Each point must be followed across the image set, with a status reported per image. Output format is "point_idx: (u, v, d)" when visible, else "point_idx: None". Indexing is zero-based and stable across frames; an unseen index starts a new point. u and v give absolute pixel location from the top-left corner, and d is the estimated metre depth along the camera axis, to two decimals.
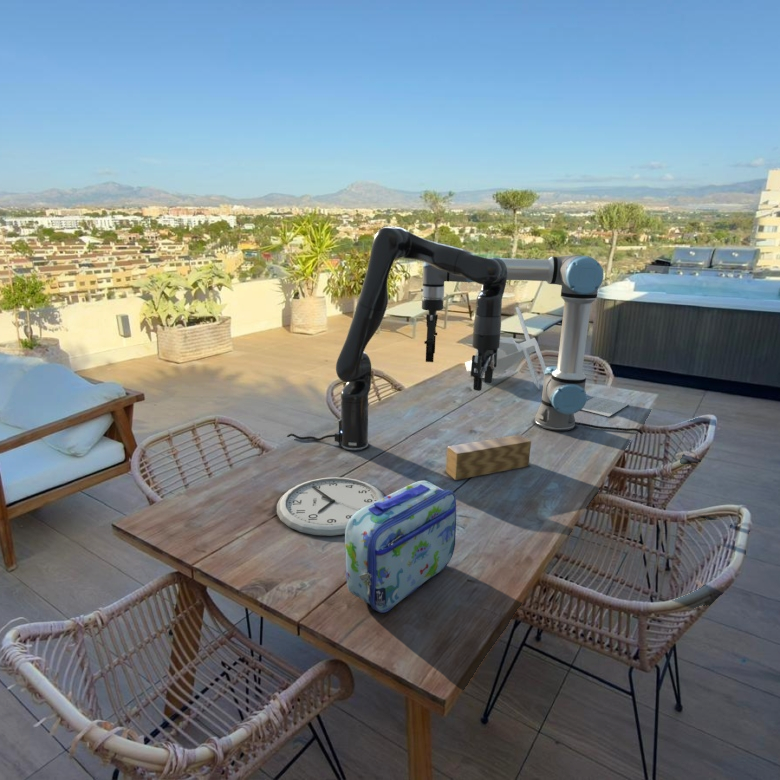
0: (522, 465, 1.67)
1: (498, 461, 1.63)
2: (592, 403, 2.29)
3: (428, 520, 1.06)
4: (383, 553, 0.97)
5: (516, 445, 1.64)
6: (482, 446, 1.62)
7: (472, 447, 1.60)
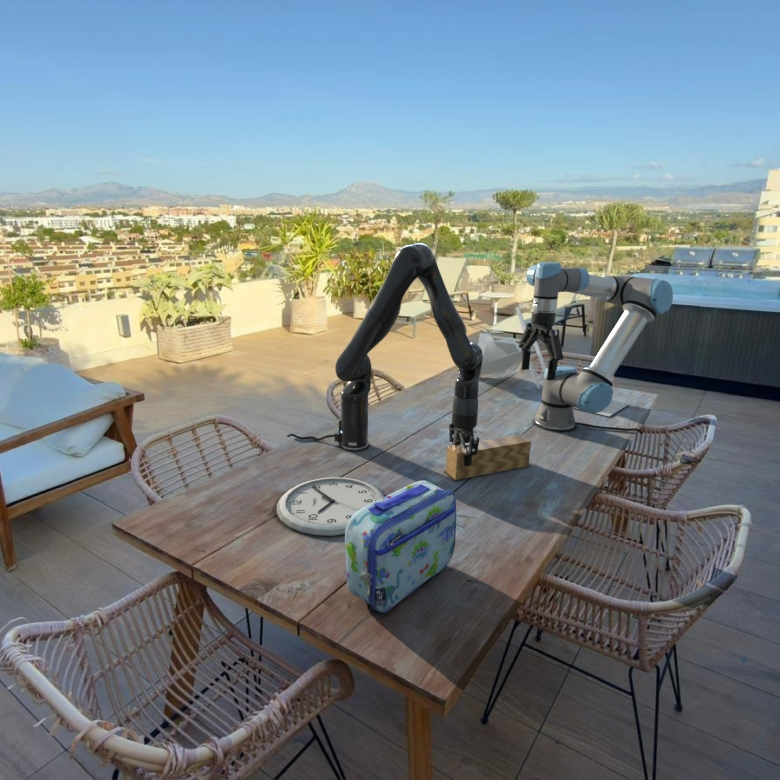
0: (522, 465, 1.67)
1: (498, 461, 1.63)
2: None
3: (428, 520, 1.06)
4: (383, 553, 0.97)
5: (516, 445, 1.64)
6: (482, 445, 1.62)
7: None
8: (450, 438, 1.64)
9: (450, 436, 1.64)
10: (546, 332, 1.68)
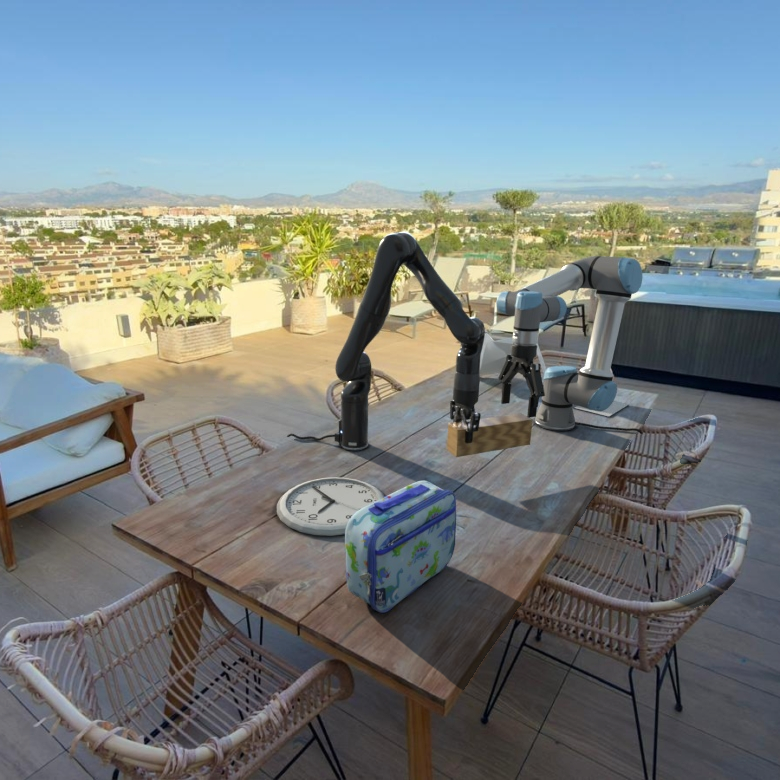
0: (523, 443, 1.65)
1: (500, 439, 1.61)
2: None
3: (428, 520, 1.06)
4: (383, 553, 0.97)
5: (517, 423, 1.62)
6: (484, 423, 1.59)
7: None
8: (451, 415, 1.62)
9: (451, 413, 1.61)
10: (527, 366, 1.56)
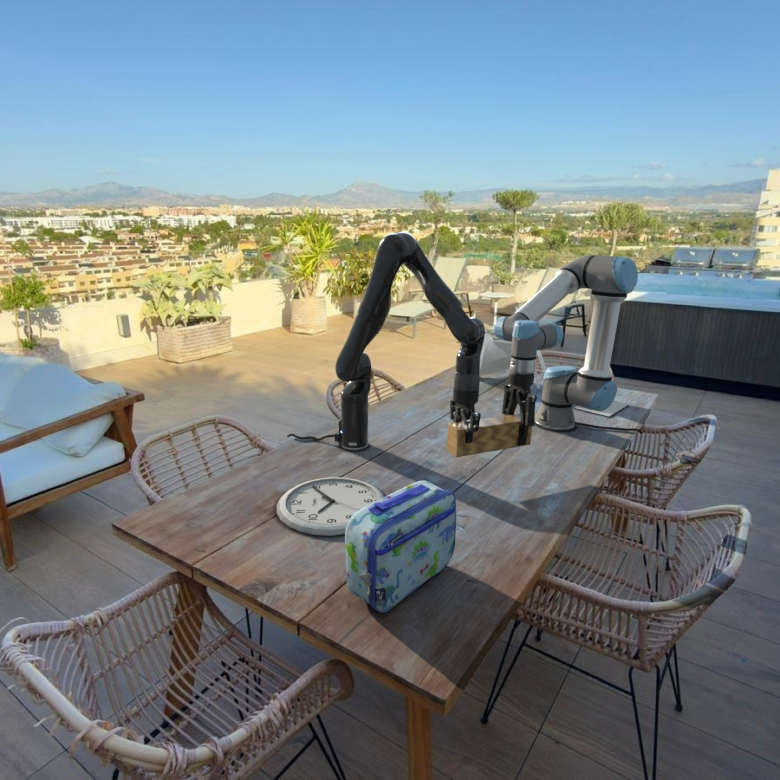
0: None
1: (500, 439, 1.61)
2: None
3: (428, 520, 1.06)
4: (383, 553, 0.97)
5: (517, 423, 1.62)
6: (484, 423, 1.59)
7: None
8: (451, 415, 1.62)
9: (451, 413, 1.61)
10: (524, 394, 1.59)
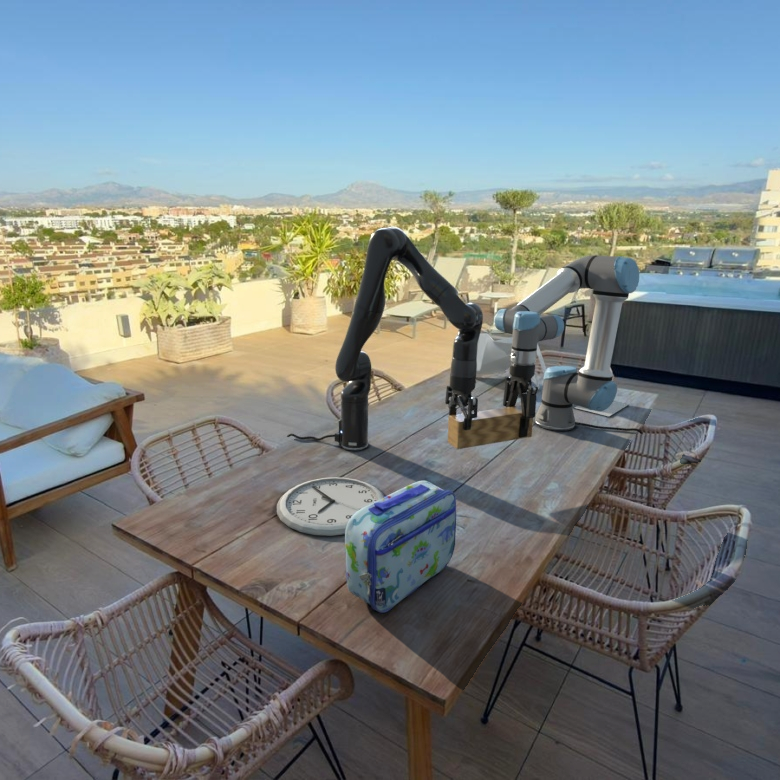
0: None
1: (501, 431, 1.60)
2: None
3: (428, 520, 1.06)
4: (383, 553, 0.97)
5: (518, 414, 1.61)
6: (484, 415, 1.59)
7: None
8: (446, 400, 1.61)
9: (446, 398, 1.60)
10: (525, 385, 1.58)
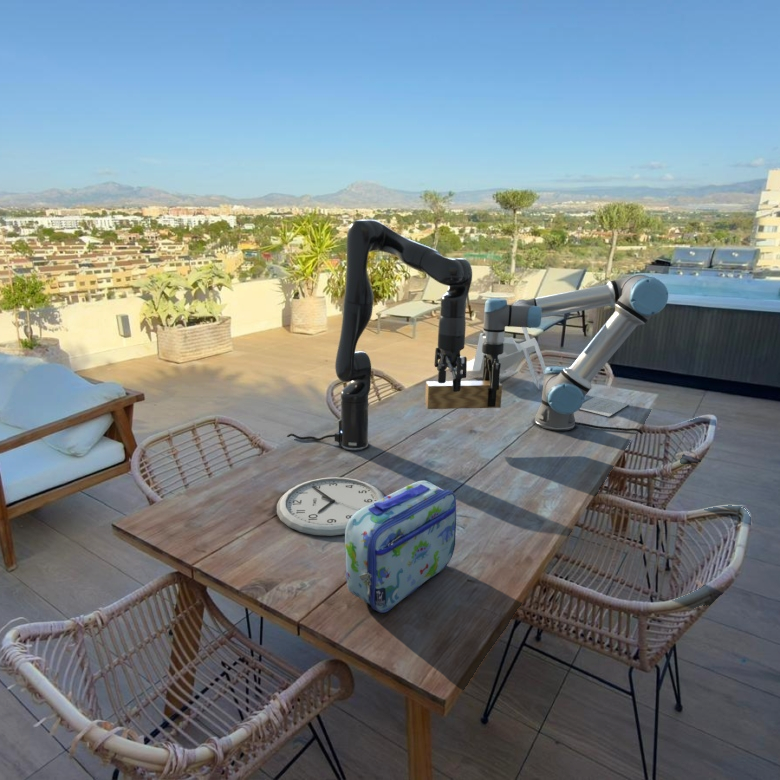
0: None
1: (469, 398, 1.89)
2: (592, 403, 2.29)
3: (428, 520, 1.06)
4: (383, 553, 0.97)
5: (486, 386, 1.88)
6: None
7: (445, 383, 1.89)
8: (435, 363, 1.55)
9: (435, 361, 1.55)
10: (491, 361, 1.85)
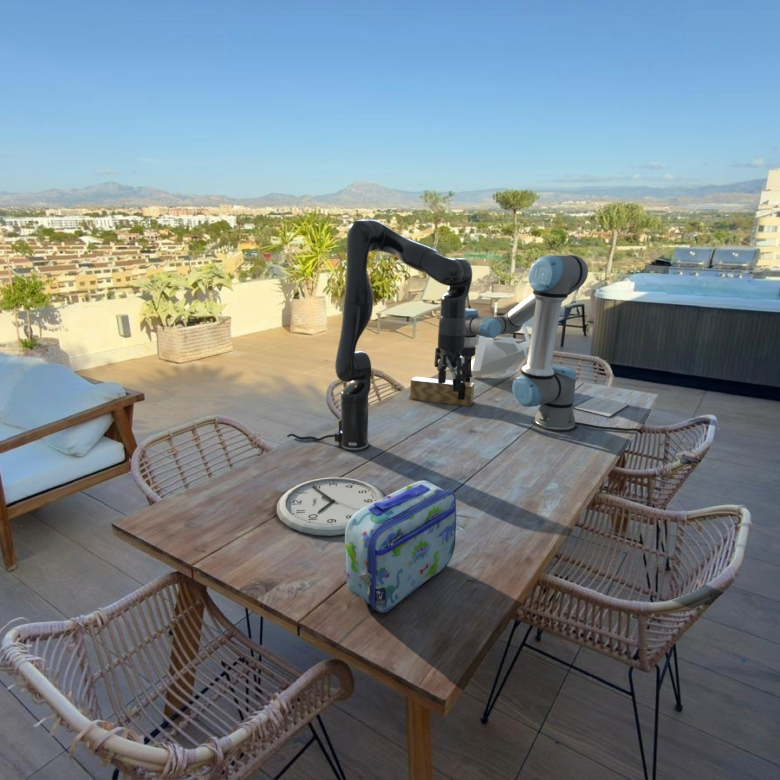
0: (465, 404, 2.25)
1: (444, 394, 2.27)
2: (592, 403, 2.29)
3: (428, 520, 1.06)
4: (383, 553, 0.97)
5: None
6: (435, 381, 2.29)
7: (426, 380, 2.30)
8: (435, 363, 1.55)
9: (435, 361, 1.55)
10: None
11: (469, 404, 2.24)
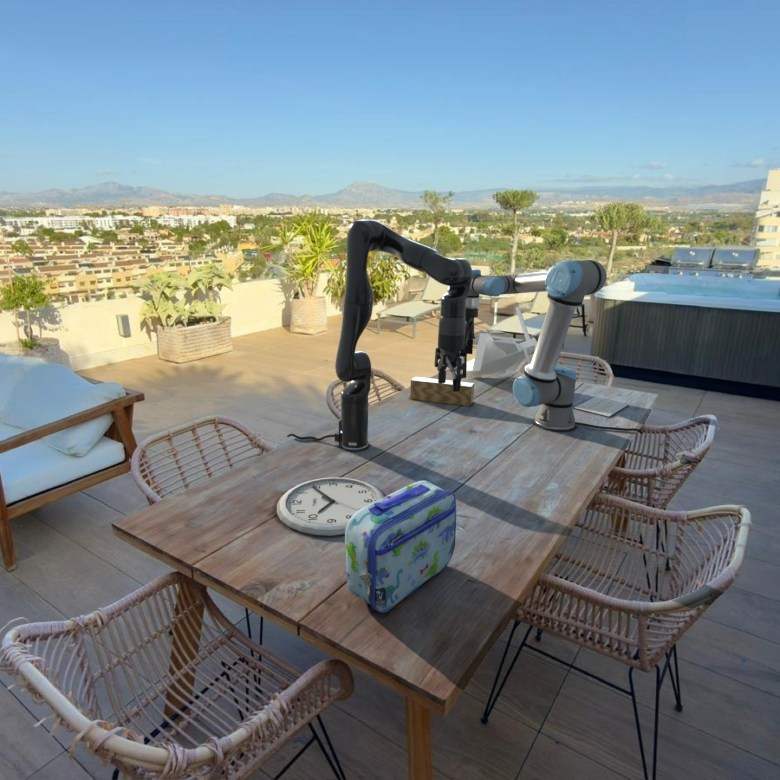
0: (465, 404, 2.25)
1: (444, 394, 2.27)
2: (592, 403, 2.29)
3: (428, 520, 1.06)
4: (383, 553, 0.97)
5: None
6: (435, 381, 2.29)
7: (426, 380, 2.30)
8: (435, 363, 1.55)
9: (435, 361, 1.55)
10: None
11: (469, 404, 2.24)
